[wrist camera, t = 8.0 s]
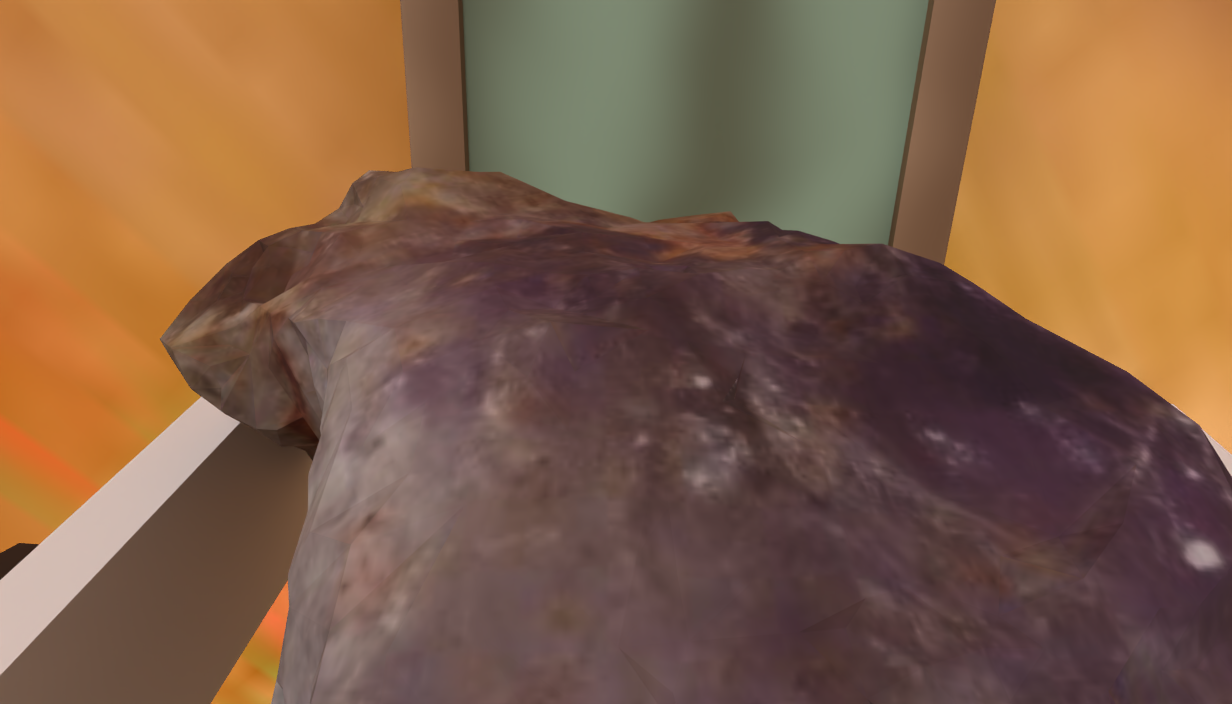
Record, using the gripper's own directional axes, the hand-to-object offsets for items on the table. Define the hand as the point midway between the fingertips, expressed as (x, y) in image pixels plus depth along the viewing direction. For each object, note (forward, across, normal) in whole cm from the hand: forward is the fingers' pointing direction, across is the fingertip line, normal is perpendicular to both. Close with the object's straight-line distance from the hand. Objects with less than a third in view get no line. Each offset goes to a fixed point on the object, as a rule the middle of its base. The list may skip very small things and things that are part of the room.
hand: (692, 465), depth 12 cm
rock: (+1, +1, 0) cm, 1 cm away
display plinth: (+17, 0, 0) cm, 17 cm away
